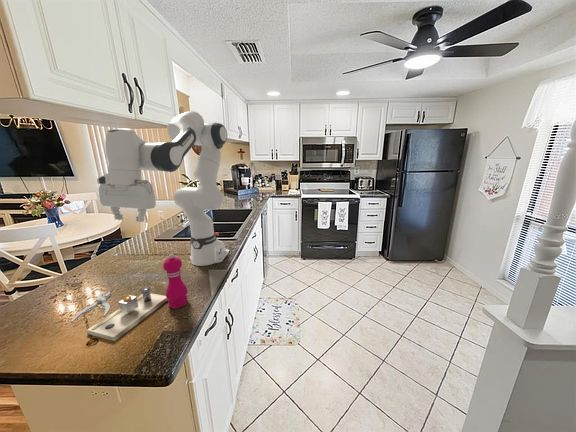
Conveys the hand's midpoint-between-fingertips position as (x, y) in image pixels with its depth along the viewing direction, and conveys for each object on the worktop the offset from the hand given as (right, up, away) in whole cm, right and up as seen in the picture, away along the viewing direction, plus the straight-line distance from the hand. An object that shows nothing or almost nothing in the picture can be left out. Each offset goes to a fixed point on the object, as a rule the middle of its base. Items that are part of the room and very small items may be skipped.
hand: (129, 220), depth 76 cm
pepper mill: (+13, -32, +8) cm, 35 cm away
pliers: (-17, -32, +7) cm, 37 cm away
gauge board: (0, -33, +2) cm, 33 cm away
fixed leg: (+1, -30, +8) cm, 31 cm away
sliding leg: (0, -31, +1) cm, 31 cm away
